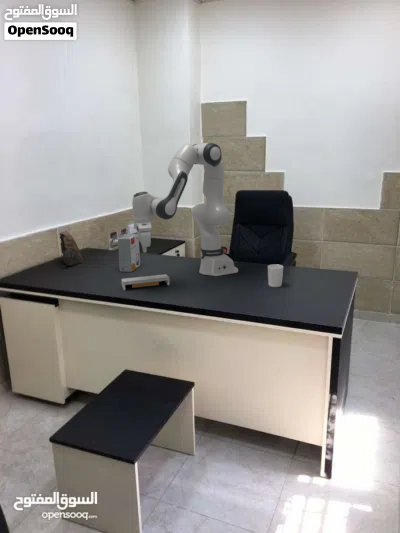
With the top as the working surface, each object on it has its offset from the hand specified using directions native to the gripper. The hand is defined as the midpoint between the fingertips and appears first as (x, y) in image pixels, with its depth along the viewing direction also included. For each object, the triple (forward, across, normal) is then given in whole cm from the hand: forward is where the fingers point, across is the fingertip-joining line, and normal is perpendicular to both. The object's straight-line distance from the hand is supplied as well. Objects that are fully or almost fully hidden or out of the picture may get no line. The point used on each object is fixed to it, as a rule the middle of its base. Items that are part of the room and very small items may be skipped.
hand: (144, 251), depth 213 cm
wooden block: (+19, -3, 0) cm, 20 cm away
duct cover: (+16, -2, 0) cm, 16 cm away
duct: (+19, -3, 0) cm, 19 cm away
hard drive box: (+19, -39, -4) cm, 43 cm away
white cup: (+20, +19, +64) cm, 69 cm away
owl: (+19, -66, -38) cm, 78 cm away
